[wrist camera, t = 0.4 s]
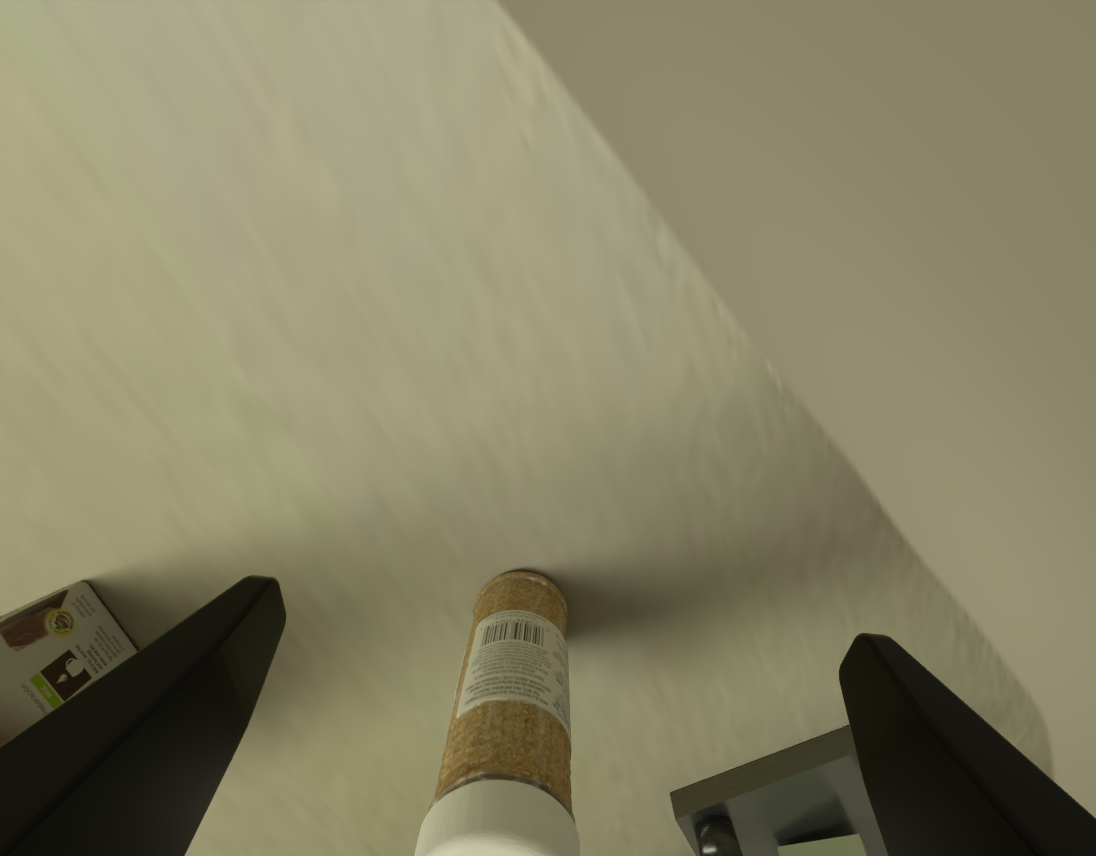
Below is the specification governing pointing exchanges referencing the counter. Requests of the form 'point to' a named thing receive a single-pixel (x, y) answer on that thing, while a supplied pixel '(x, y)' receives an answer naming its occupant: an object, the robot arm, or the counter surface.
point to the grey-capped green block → (827, 847)
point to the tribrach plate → (781, 802)
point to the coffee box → (54, 654)
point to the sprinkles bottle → (508, 731)
